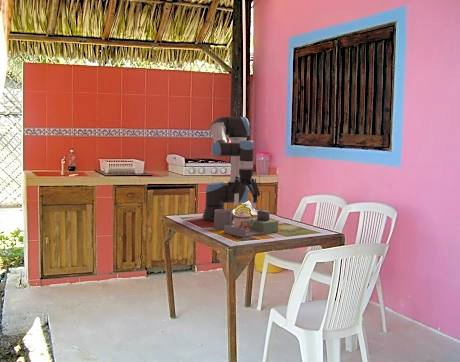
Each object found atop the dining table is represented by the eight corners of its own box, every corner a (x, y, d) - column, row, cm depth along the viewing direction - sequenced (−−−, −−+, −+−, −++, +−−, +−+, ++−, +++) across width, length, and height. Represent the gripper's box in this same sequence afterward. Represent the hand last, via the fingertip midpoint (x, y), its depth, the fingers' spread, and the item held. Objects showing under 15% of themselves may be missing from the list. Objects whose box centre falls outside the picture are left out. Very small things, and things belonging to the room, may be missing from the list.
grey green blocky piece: (223, 232, 307) (224, 212, 306) (257, 227, 325) (258, 208, 324) (244, 237, 295) (244, 217, 294) (277, 231, 314) (278, 212, 313)
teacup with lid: (239, 233, 300) (239, 212, 298) (230, 230, 307) (231, 210, 306) (257, 231, 306) (258, 211, 305) (248, 229, 314) (249, 208, 312)
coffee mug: (219, 229, 315) (219, 212, 314) (210, 226, 323) (211, 209, 322) (239, 227, 322) (239, 210, 321) (230, 225, 330) (231, 208, 329)
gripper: (225, 166, 309) (224, 204, 312) (257, 171, 291) (256, 210, 294) (235, 166, 315) (234, 203, 317) (267, 170, 296) (265, 209, 299)
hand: (244, 206), depth 306 cm, fingers open, 13 cm apart
